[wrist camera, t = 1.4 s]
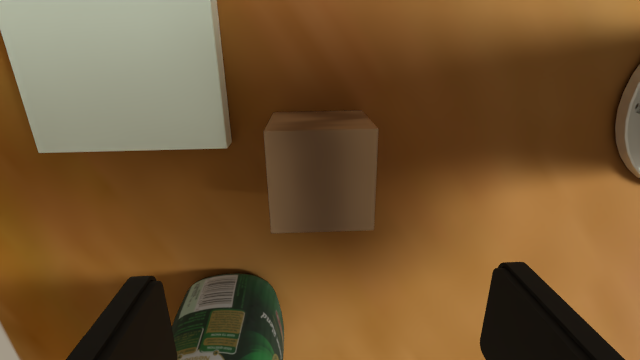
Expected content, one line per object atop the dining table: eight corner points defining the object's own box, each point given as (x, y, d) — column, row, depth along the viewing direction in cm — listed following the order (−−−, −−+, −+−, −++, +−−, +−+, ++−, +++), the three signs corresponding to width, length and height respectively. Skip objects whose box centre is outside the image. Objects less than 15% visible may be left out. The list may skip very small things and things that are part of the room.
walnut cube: (361, 110, 24) (378, 128, 18) (359, 190, 26) (374, 230, 20) (273, 112, 24) (263, 131, 18) (278, 193, 26) (271, 233, 20)
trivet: (210, -62, 20) (202, -71, 19) (231, 142, 24) (227, 148, 23) (-5, -61, 20) (-31, -70, 18) (55, 146, 24) (38, 153, 22)
